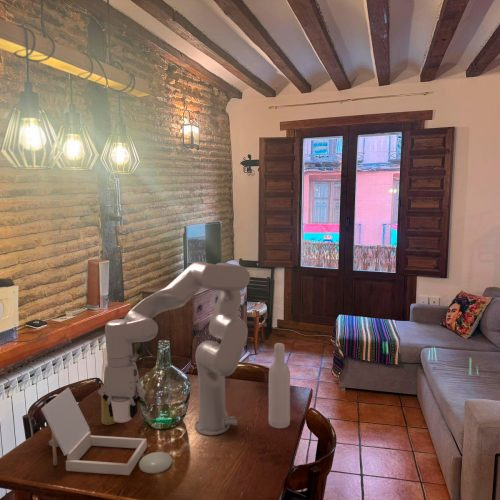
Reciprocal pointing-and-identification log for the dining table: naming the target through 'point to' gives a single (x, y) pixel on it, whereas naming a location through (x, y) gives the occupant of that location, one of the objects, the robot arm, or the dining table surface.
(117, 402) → the shot glass
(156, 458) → the saucer
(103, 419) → the vase
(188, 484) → the dining table surface
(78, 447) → the cold frame
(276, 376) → the bottle
